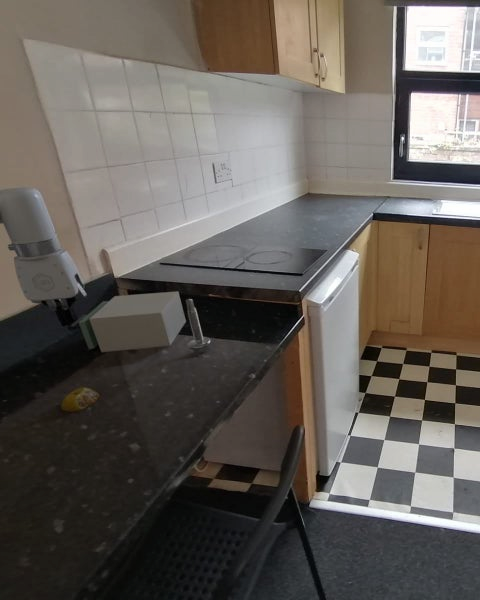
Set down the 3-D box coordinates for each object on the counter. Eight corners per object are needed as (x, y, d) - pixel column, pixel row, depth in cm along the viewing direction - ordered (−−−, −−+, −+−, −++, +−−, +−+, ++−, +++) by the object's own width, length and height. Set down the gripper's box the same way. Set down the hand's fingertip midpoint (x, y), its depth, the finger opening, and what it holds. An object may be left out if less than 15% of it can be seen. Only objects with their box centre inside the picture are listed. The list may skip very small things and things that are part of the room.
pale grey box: (101, 352, 91) (88, 318, 88) (125, 326, 103) (114, 296, 99) (170, 345, 94) (161, 312, 90) (186, 321, 105) (178, 291, 102)
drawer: (67, 350, 90) (56, 324, 88) (92, 327, 101) (83, 302, 98) (153, 342, 93) (145, 316, 91) (169, 320, 104) (162, 296, 101)
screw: (214, 352, 91) (190, 358, 89) (211, 343, 95) (188, 348, 93) (202, 300, 86) (176, 305, 83) (199, 292, 89) (175, 296, 87)
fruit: (106, 420, 71) (99, 403, 69) (52, 426, 69) (44, 409, 68) (125, 391, 78) (119, 375, 76) (77, 397, 77) (70, 381, 75)
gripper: (-15, 255, 82) (23, 334, 89) (67, 250, 84) (97, 327, 92) (10, 245, 88) (43, 319, 96) (86, 240, 91) (112, 312, 98)
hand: (69, 323), depth 94 cm, fingers closed
